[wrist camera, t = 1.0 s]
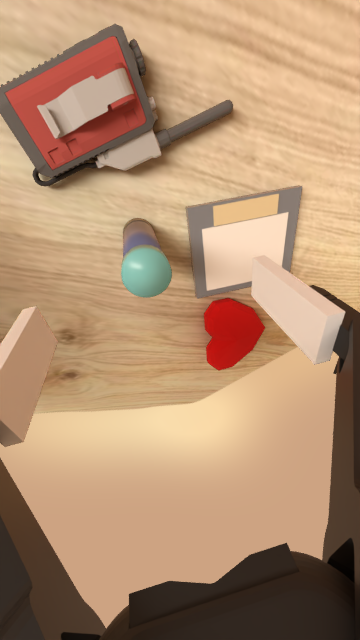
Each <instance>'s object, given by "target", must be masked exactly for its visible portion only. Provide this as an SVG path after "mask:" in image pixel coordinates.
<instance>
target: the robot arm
mask: <svg viewBox="0 0 360 640" xmlns="http://www.w3.org/2000/svg"><path fill="white" fill-rule="evenodd" d="M251 296H252V297H253V298H254V299H255V300H256V302H257V303H258V304H259V305H260V306H261V307H262V308H263V309H264V310H265V311H266V312H267V313H268V315H269V316H270V317H271V318H272V319H273V320H274V321H275V322H276V323H277V324H278V325H279V327H280V328H281V329H282V330H283V331H284V332H285V333H286V334H287V335H288V336H289V337H290V339H291V340H292V341H293V342H294V343H295V344H296V345H297V346H298V347H299V348H300V349H301V350H302V351H303V352H304V354H305V355H306V356H307V357H308V358H309V359H310V360H311V361H312V362H313V364H314V365H315V364H319V363H322V362H326V361H330V359H331V355H332V352H333V351H334V352H335V353H336V354H337V355H338V356H339V359H338V361H337V364H336V367H335V370H334V374H336V373H337V377H336V395H335V414H334V431H333V450H332V467H331V486H330V503H329V518H328V525H327V529H326V533H325V538H324V547H323V559H322V560H320V559H318V558H315V557H313V556H310V555H307V554H304V553H299V552H293V551H290V549H289V547H288V545H287V543H285V544H282V545H279V546H276V547H273V548H270V549H267V550H264V551H260V552H257V553H255V554H251V555H249V556H248V557H247V558H245V559H244V560H243V561H241V562H240V563H239V564H238V565H236V566H235V567H234V568H233V569H232V570H230V571H229V572H228V573H227V574H225V575H224V576H223V577H222V578H220V579H219V580H218V581H216V582H215V583H212V584H206V583H191V582H176V581H168V582H165V583H162V584H159V585H155V586H152V587H149V588H146V589H143V590H140V591H137V592H134V593H131V594H129V605H128V606H127V607H126V608H124V609H123V610H122V611H121V612H120V613H119V614H118V615H117V616H116V618H115V619H114V620H113V621H112V622H111V624H110V625H109V626H108V627H107V629H106V628H105V626H104V625H103V623H102V621H101V620H100V618H99V617H98V616H97V614H96V613H95V612H94V611H93V609H92V608H91V607H90V606H89V605H88V604H87V603H85V602H84V600H83V599H82V597H81V596H80V594H79V593H78V591H77V589H76V587H75V586H74V584H73V582H72V581H71V579H70V577H69V575H68V574H67V572H66V570H65V569H64V567H63V565H62V563H61V562H60V560H59V558H58V556H57V555H56V553H55V551H54V550H53V548H52V546H51V544H50V543H49V541H48V539H47V538H46V536H45V534H44V533H43V531H42V529H41V527H40V526H39V524H38V522H37V520H36V519H35V517H34V515H33V514H32V512H31V510H30V508H29V507H28V505H27V503H26V501H25V500H24V498H23V496H22V495H21V493H20V491H19V489H18V488H17V486H16V485H15V483H14V481H13V479H12V477H11V476H10V474H9V473H8V471H7V469H6V467H5V466H4V464H3V462H2V460H1V459H0V640H360V313H359V312H358V311H356V310H355V309H353V308H352V307H350V306H349V305H347V304H346V303H344V302H343V301H341V300H340V299H337V297H335V296H334V295H331V293H329V292H328V291H326V290H325V289H323V288H320V287H317V286H314V285H312V286H308V285H306V284H305V283H304V282H302V281H301V280H299V279H298V278H296V277H295V276H294V275H292V274H291V273H289V272H288V271H287V270H285V269H284V268H282V267H281V266H279V265H278V264H277V263H275V262H274V261H272V260H271V259H269V258H268V257H267V256H265V255H262V256H258V257H253V264H252V291H251ZM57 343H58V341H57V339H56V338H55V336H54V334H53V333H52V331H51V329H50V328H49V326H48V324H47V323H46V321H45V319H44V318H43V316H42V314H41V313H40V311H39V309H38V307H37V306H34V307H30V308H25V309H23V310H22V311H21V313H20V314H19V316H18V318H17V319H16V321H15V322H14V324H13V325H12V327H11V329H10V330H9V332H8V333H7V335H6V336H5V338H4V339H3V341H2V343H1V344H0V443H1V444H2V445H3V446H5V447H6V446H10V445H13V444H17V443H21V442H24V439H25V436H26V433H27V430H28V428H29V425H30V422H31V419H32V416H33V413H34V410H35V407H36V404H37V401H38V398H39V395H40V393H41V390H42V387H43V384H44V381H45V378H46V375H47V372H48V369H49V366H50V363H51V360H52V357H53V355H54V352H55V349H56V346H57Z"/></svg>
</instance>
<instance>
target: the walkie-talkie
mask: <svg viewBox="0 0 360 640" xmlns="http://www.w3.org/2000/svg"><path fill="white" fill-rule="evenodd" d="M44 63H45V64H43V65H40V64H39V65H38V67H37V68H35V69H34V68H32V71H30V72H28V71H26V74H24V75H19V77H18V78H17V79H16V78H13V81H11V82H9V81H7V84H5V85H3V84H2V85H1V87H0V114H1V115H2V117H3V118H4V120H5V122H6V123H7V125H8V126H9V128H10V129H11V131H12V132H13V134H14V135H15V137H16V138H17V140H18V141H19V143H20V145H21V146H22V148H23V149H24V151H25V152H26V154H27V155H28V157H29V158H30V160H31V161H32V163H33V164H34V166H35V167H36V168H35V169H34V171H33V177H34V180H35V182H36V183H37V184H39V185H41V186H50V185H52V184H54V183H56V182H58V181H60V180H62V179H64V178H66V177H68V176H70V175H72V174H74V173H76V172H78V171H80V170H82V169H84V168H95V167H98V168H101V167H103V166H105V165H107V166H110V167H114V168H117V169H121V170H124V171H127V170H129V169H131V168H133V167H135V166H137V165H139V164H141V163H143V162H145V161H147V160H149V159H151V158H157V157H159V156H161V155H162V154H161V151H160V150H161V149H163V148H165V147H167V146H169V145H170V144H171V142H173V141H175V140H177V139H179V138H181V137H183V136H185V135H187V134H189V133H191V132H193V131H195V130H197V129H199V128H201V127H203V126H205V125H207V124H209V123H211V122H213V121H215V120H217V119H219V118H221V117H224V116H226V115H228V114H230V113H231V111H232V109H233V104H232V102H231V101H230V100H226V101H224V102H222V103H220V104H218V105H216V106H214V107H212V108H210V109H208V110H206V111H204V112H202V113H200V114H198V115H196V116H194V117H192V118H190V119H188V120H186V121H184V122H182V123H180V124H178V125H176V126H174V127H172V128H170V129H168V130H166V129H164V130H162V131H160V132H158V133H156V134H154V132H153V129H152V128H153V125H154V123H155V121H156V120H158V117H157V113H156V111H155V108H156V105H155V101H154V99H153V97H150V98H148V97H147V96H146V93H145V90H144V87H143V84H142V81H141V78H140V76H141V77H142V76H143V75H145V73H146V69H145V65H144V61H143V57H142V54H141V51H140V48H139V46H138V44H137V41H136V40H135V39H133V40H131V41H130V43H129V44H128V41H127V38H126V35H125V33H124V30H123V28H122V27H121V26H119V25H116V24H114V25H112V26H110V27H107V28H105V29H103V30H101V31H99V32H98V33H97V34H95V35H93V36H91V37H89V38H88V39H86V40H83V41H81V42H79V43H77V44H75V45H74V46H73V47H71V48H69V49H67V50H65V51H63V54H61V55H59V54H58V55H57V57H56V58H54V59H53V58H51V60H50V61H48V62H47V61H45V62H44ZM153 109H154V110H153ZM107 150H108V151H107ZM103 152H104V153H103ZM97 155H98V156H97ZM95 157H97V158H98V160H97V161H95V163H85V162H87V160H91V159H92V158H95ZM82 163H84V164H82ZM78 165H79V166H78ZM72 168H73V169H72ZM68 170H69V171H68ZM39 173H40V174H42V175H45V176H48V177H50V178H53V179H51V180H49V181H41V180H40V178H39V176H38V174H39ZM58 175H59V176H58ZM54 177H55V178H54Z"/></svg>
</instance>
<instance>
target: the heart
mask: <svg viewBox="0 0 360 640" xmlns="http://www.w3.org/2000/svg"><path fill="white" fill-rule="evenodd" d="M204 320H205V330H206V331H207V332H208V333H209V334H210V335H211V336H212V339H211V341H210V342H209V344H208V345H207V347H206V353H207V361H208V363H209V364H210V365H211V366H213V367H214V368H216V369H217V370H222V369H226V368H229V367H233V366H234V365H235V364H236V363H237V362H238V361H240V360H241V359H242V358H243V357H244V356H246V355H247V354H248V353H249V352H250V351H251V350H253V348H254V346H255V345H256V343H257V341H258V339H259V338H260V336H261V334H262V333H263V331H264V329H265V327H264V325H263V324H262V322H261V321H260V319H259V317H258V316H257V314H256V313H255V311H254V310H253V309H252V308H250V307H248V306H246V305H243V304H241V303H239V302H237V301H234V300H232V299H229V298H226V299H221V300H216V301H213V302H212V303H211V304H210V306H209V307H208V309H207V310H206V312H205V313H204Z"/></svg>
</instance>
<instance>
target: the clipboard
mask: <svg viewBox="0 0 360 640" xmlns="http://www.w3.org/2000/svg"><path fill="white" fill-rule="evenodd" d="M301 192H302V186H294V187H288V188H283V189H278V190H273V191H267V192H262V193H257V194H251V195H246V196H241V197H236V198H230V199H225V200H220V201H215V202H209V203H204V204H199V205H193V206H188V207H186V214H187V223H188V232H189V240H190V249H191V258H192V267H193V276H194V285H195V294H196V297H197V298H202V297H206V296H211V295H215V294H220V293H224V292H229V291H233V290H238V289H242V288H247V287H251V286H252V264H253V257H258V256H262V255H265V256H267V257H268V258H269V259H271V260H272V261H274V262H275V263H277V264H278V265H279V266H281V267H282V268H284V269H285V270H287V271H288V272H289V273H290V267H291V260H292V254H293V247H294V240H295V233H296V226H297V220H298V213H299V206H300V199H301Z"/></svg>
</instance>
